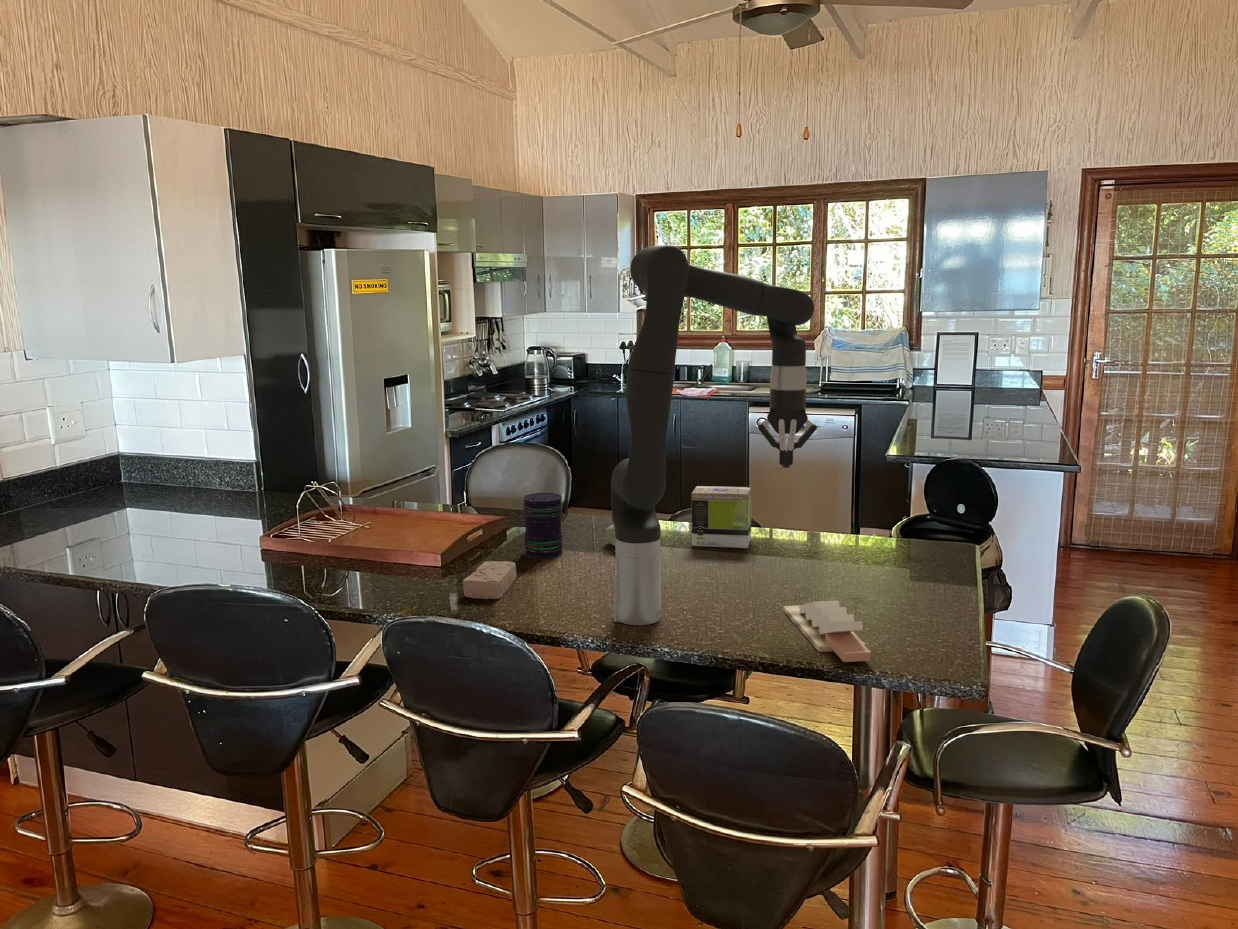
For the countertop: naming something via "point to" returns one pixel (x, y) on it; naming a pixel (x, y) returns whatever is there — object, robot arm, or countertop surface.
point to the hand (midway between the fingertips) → (786, 467)
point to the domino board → (810, 628)
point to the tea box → (721, 516)
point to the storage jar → (543, 525)
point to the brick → (490, 580)
